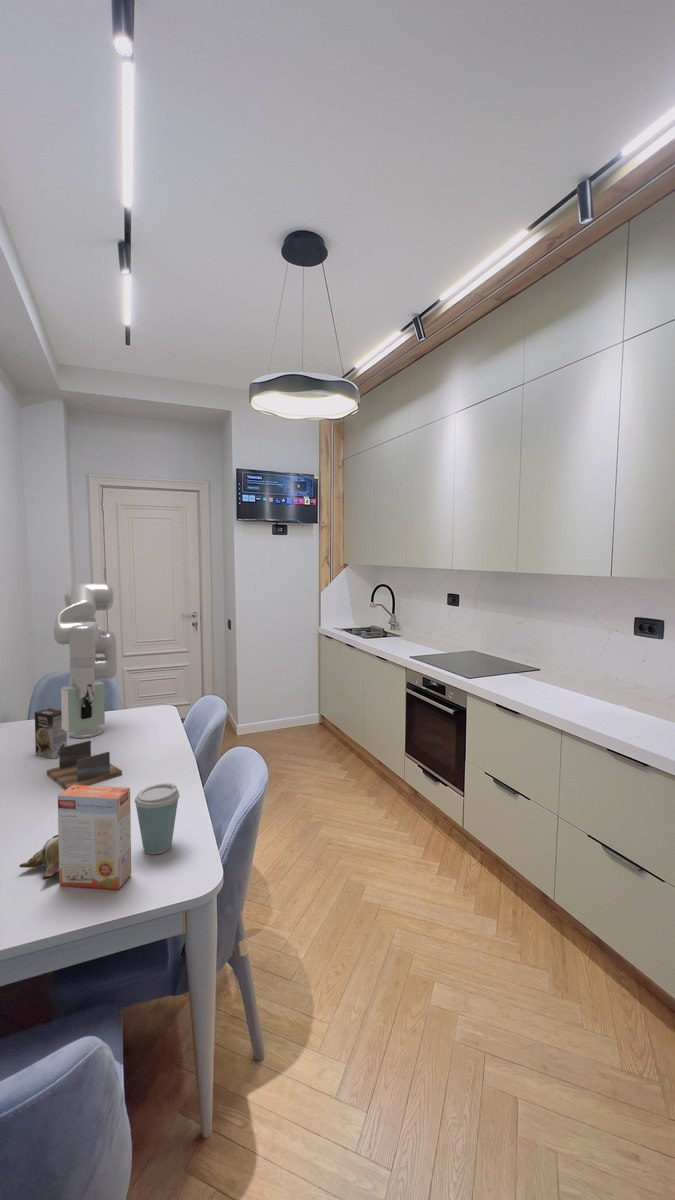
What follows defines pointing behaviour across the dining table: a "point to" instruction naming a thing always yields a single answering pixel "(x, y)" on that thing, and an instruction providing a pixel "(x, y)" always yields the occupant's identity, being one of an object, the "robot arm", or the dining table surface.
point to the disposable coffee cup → (157, 816)
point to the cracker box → (94, 836)
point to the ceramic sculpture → (46, 858)
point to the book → (73, 709)
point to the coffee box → (49, 733)
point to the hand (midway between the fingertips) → (83, 716)
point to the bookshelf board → (82, 766)
